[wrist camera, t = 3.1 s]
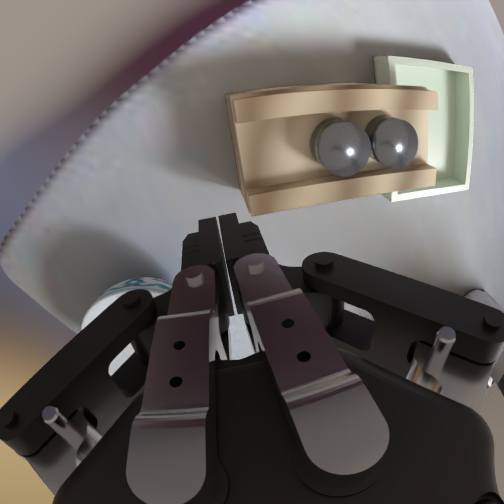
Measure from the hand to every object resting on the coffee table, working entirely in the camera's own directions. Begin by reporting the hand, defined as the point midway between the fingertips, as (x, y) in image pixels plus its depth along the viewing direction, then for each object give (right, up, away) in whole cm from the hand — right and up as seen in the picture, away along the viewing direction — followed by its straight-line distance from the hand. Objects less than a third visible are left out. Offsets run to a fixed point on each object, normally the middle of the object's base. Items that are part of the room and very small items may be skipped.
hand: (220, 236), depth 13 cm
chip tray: (+21, +14, +18) cm, 31 cm away
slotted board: (+9, +12, +17) cm, 22 cm away
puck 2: (+13, +10, +12) cm, 20 cm away
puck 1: (+8, +9, +12) cm, 17 cm away
